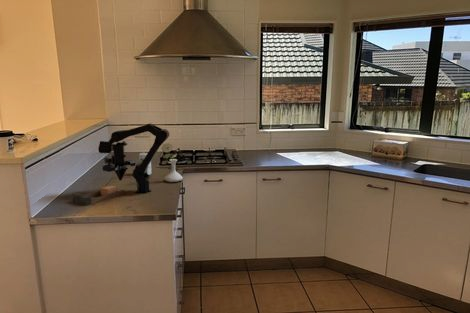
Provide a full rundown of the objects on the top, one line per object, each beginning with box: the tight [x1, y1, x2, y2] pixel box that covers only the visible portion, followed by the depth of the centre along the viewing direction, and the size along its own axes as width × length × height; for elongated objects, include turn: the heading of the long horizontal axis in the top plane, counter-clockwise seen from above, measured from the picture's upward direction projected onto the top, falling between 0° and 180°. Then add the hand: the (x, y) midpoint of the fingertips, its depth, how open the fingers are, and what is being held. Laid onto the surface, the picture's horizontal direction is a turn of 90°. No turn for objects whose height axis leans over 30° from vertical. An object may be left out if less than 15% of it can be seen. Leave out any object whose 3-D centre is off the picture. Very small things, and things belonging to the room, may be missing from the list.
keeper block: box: [100, 184, 118, 196], centre depth 195 cm, size 6×6×4 cm
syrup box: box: [138, 152, 152, 176], centre depth 238 cm, size 6×6×14 cm
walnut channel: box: [72, 189, 125, 206], centre depth 190 cm, size 11×24×4 cm, turn 147°
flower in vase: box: [160, 142, 183, 183], centre depth 222 cm, size 13×11×25 cm
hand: (120, 180), depth 201 cm, fingers closed
